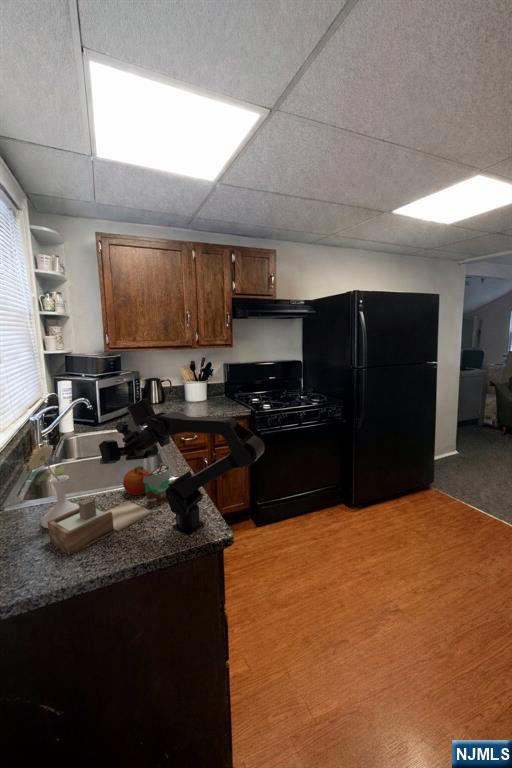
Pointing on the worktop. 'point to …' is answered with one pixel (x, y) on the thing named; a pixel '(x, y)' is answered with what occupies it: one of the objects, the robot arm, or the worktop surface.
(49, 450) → the flower in vase
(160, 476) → the food container
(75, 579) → the worktop surface
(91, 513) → the lid
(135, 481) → the fruit
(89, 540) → the box
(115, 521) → the mat
